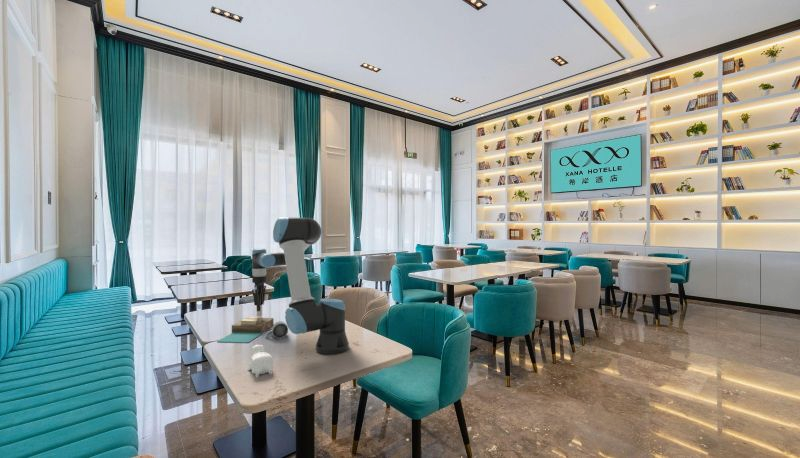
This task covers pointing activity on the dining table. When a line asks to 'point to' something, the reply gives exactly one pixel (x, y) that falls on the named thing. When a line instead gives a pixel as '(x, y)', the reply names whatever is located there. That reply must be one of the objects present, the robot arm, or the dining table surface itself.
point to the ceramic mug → (278, 330)
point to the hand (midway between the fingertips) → (259, 316)
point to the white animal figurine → (260, 361)
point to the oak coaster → (251, 320)
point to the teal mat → (240, 337)
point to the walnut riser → (253, 326)
